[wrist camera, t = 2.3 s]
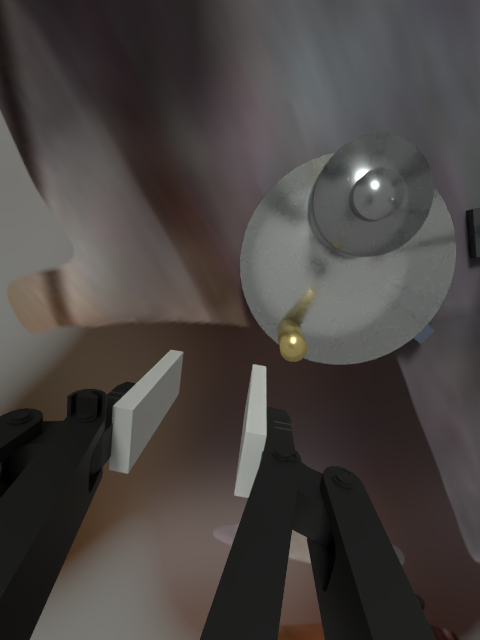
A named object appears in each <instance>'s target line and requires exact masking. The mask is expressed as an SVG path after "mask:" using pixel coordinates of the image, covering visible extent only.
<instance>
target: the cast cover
mask: <svg viewBox="0 0 480 640" xmlns="http://www.w3.org/2000/svg"><path fill="white" fill-rule="evenodd" d="M433 195H434V181H433V175H432V172H431V168H430V166H429V164H428V162H427V160H426V158H425V157H424V155H423V154H422V152H421V151H420V150H419V149H418V148H417V147H416V146H415V145H413V144H412V143H411V142H409V141H407V140H405V139H404V138H401V137H398V136H395V135H390V134H371V135H366V136H362V137H360V138H357V139H355V140H353V141H351V142H349V143H347V144H346V145H344V146H343V147H341V148H340V149H339V150H338V151H337V152H336V153H335V154H334V155H333V156H332V157H331V158H330V159H329V161H328V162H327V164H326V165H325V166H324V168H323V169H322V171H321V173H320V174H319V176H318V177H317V179H316V181H315V182H314V184H313V186H312V189H311V192H310V195H309V199H308V219H309V223H310V226H311V229H312V231H313V233H314V235H315V237H316V238H317V239H318V241H319V242H320V243H321V244H322V245H323V246H324V247H326V248H327V249H328V250H330V251H332V252H334V253H336V254H339V255H343V256H348V257H372V256H379V255H383V254H387V253H389V252H392V251H394V250H396V249H398V248H400V247H401V246H403V245H404V244H405V243H407V242H408V241H409V240H410V239H411V238H412V237H414V236H415V235H416V233H417V232H418V231H419V230H420V228H421V227H422V225H423V224H424V222H425V220H426V218H427V216H428V214H429V212H430V209H431V206H432V201H433Z"/></svg>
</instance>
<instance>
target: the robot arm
mask: <svg viewBox="0 0 480 640" xmlns="http://www.w3.org/2000/svg"><path fill="white" fill-rule="evenodd" d="M182 361H183V352H181V351H175V350H170V351H169V352H168V353H167V354H166V355H165V356H164V357H163V358H162V359H161V360H160V361H159V362H158V363H157V364H156V365H155V366H154V367H153V368H152V369H151V370H150V371H149V372H148V373H147V374H146V375H144V377H143V378H141V379H140V380H139V381H138V382H137V383H130V382H125V383H123V384H121V385H118V386H117V387H115V388H114V389H113V390H112V391H111V392H110V393H109V394H107V395H106V393H105V392H103V391H101V390H97V389H84V390H79V391H76V392H73V393H72V394H70V395H69V396H68V403H67V404H68V405H67V417H66V419H65V420H64V421H43V414H42V412H41V411H39V410H36V409H28V408H25V409H18V410H15V411H11V412H9V413H6V414H4V415H2V416H1V417H0V640H30V637H31V635H32V633H33V631H34V629H35V626H36V624H37V622H38V620H39V617H40V615H41V613H42V611H43V608H44V606H45V604H46V602H47V599H48V597H49V595H50V593H51V590H52V588H53V586H54V584H55V582H56V579H57V577H58V575H59V573H60V570H61V568H62V566H63V564H64V561H65V559H66V557H67V554H68V552H69V550H70V548H71V546H72V543H73V541H74V539H75V537H76V535H77V532H78V530H79V528H80V526H81V523H82V521H83V519H84V517H85V514H86V512H87V510H88V508H89V505H90V503H91V501H92V499H93V496H94V494H95V492H96V490H97V487H98V485H99V483H100V481H101V478H102V474H103V466H104V464H105V463H106V462H107V460H108V459H109V458H110V462H109V470H112V471H117V472H121V473H126V474H128V473H129V472H130V470H131V468H132V466H133V465H134V464H135V462H136V460H137V459H138V457H139V456H140V454H141V453H142V451H143V449H144V448H145V446H146V445H147V443H148V442H149V440H150V438H151V437H152V435H153V434H154V432H155V431H156V429H157V427H158V426H159V424H160V423H161V421H162V420H163V418H164V416H165V415H166V413H167V412H168V410H169V408H170V407H171V405H172V404H173V402H174V401H175V399H176V398H177V396H178V394H179V387H180V378H181V370H182ZM234 495H236V496H240V497H245V498H248V501H247V503H246V506H245V509H244V512H243V515H242V518H241V521H240V524H239V527H238V530H237V533H236V536H235V538H234V541H233V544H232V548H231V550H230V553H229V556H228V559H227V562H226V565H225V568H224V571H223V573H222V577H221V580H220V582H219V585H218V588H217V591H216V594H215V597H214V600H213V603H212V606H211V608H210V612H209V615H208V617H207V620H206V623H205V626H204V629H203V632H202V635H201V638H200V640H277V638H278V630H279V622H280V616H281V608H282V600H283V593H284V586H285V578H286V571H287V563H288V556H289V549H290V541H291V534H292V530H294V531H296V532H298V533H300V534H302V535H304V536H306V537H307V542H308V548H309V553H310V559H311V564H312V570H313V575H314V581H315V587H316V592H317V598H318V603H319V609H320V614H321V620H322V626H323V631H324V637H325V640H436V638H435V636H434V634H433V632H432V630H431V627H430V625H429V623H428V621H427V619H426V617H425V615H424V613H423V610H422V608H421V606H420V604H419V602H418V600H417V598H416V596H415V593H414V591H413V589H412V587H411V585H410V583H409V581H408V579H407V576H406V575H405V572H404V570H403V568H402V566H401V564H400V562H399V559H398V557H397V555H396V553H395V551H394V549H393V547H392V544H391V542H390V540H389V538H388V536H387V534H386V532H385V530H384V528H383V525H382V523H381V521H380V519H379V517H378V515H377V513H376V510H375V508H374V506H373V504H372V502H371V500H370V498H369V496H368V493H367V491H366V489H365V487H364V485H363V484H362V482H361V480H360V479H359V478H358V477H357V476H356V475H355V474H353V473H352V472H350V471H348V470H346V469H344V468H341V467H338V466H331V467H328V468H326V469H325V471H324V472H323V474H322V473H320V472H317V471H315V470H313V469H311V468H309V467H307V466H306V465H305V464H303V463H302V462H301V457H300V455H299V454H298V452H297V451H295V447H294V441H293V435H292V429H291V422H290V417H289V415H288V414H287V413H286V411H284V410H281V409H275V408H270V407H266V367H265V366H260V365H253V368H252V373H251V379H250V385H249V391H248V396H247V402H246V408H245V415H244V423H243V431H242V438H241V447H240V454H239V461H238V469H237V477H236V484H235V492H234Z"/></svg>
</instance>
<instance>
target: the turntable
mask: <svg viewBox="0 0 480 640" xmlns="http://www.w3.org/2000/svg"><path fill="white" fill-rule="evenodd" d="M334 154H335V153H332V154H328V155H324V156H321V157H318V158H316V159H313V160H310V161H308V162H306V163H305V164H303V165H301V166H299V167H297V168H295V169H294V170H293V171H291V172H290V173H288V174H287V175H285V176H284V177H283V178H282V179H281V180H280V181H278V182H277V183H276V184H275V185H274V186H273V187H272V188H271V189H270V191H269V192H268V193H267V194H266V195H265V196H264V198H263V199H262V201H261V202H260V204H259V205H258V207H257V208H256V210H255V211H254V213H253V215H252V217H251V219H250V221H249V224H248V227H247V229H246V232H245V235H244V239H243V244H242V248H241V258H240V275H241V282H242V288H243V292H244V295H245V299H246V302H247V304H248V306H249V308H250V311H251V313H252V315H253V316H254V318H255V319H256V321H257V323H258V324H259V325H260V327H261V328H262V329H263V330H264V331H265V332H266V334H267V335H268V336H269V337H271V338H272V339H273V340H274V341H275V342H276V343H277V344H279V347H280V352H281V355H282V356H283V358H284V359H286V360H288V361H291V362H297V361H300V360H301V359H303V358H305V359H307V360H310V361H314V362H319V363H324V364H333V365H347V364H355V363H362V362H366V361H370V360H374V359H376V358H379V357H382V356H384V355H387V354H389V353H391V352H393V351H394V350H396V349H398V348H400V347H401V346H403V345H404V344H406V343H407V342H409V341H410V340H411V339H412V340H414V341H416V342H418V343H420V344H421V343H422V342H424V341H425V340H426V339H427V338H428V337H429V336H430V335H431V334H432V333H433V332H434V331H435V330H434V329H433V328H431V327H430V326H429V325H428V323H429V322H430V321H431V319H432V318H433V317H434V315H435V314H436V312H437V311H438V310H439V308H440V306H441V304H442V302H443V301H444V299H445V297H446V294H447V292H448V289H449V287H450V284H451V281H452V277H453V273H454V269H455V260H456V238H455V232H454V226H453V222H452V219H451V216H450V213H449V211H448V209H447V206H446V204H445V202H444V200H443V198H442V197H441V196H440V194H439V193H438V191H437V190H436V188H435V187H434V195H433V201H432V206H431V209H430V212H429V214H428V216H427V218H426V220H425V222H424V224H423V225H422V227H421V228H420V230H419V231H418V232H417V233H416V235H415V236H414V237H412V238H411V239H410V240H409V241H408V242H407V243H405V244H404V245H403V246H401V247H400V248H398V249H396V250H394V251H392V252H389V253H387V254H383V255H379V256H372V257H348V256H343V255H339V254H336V253H334V252H332V251H330V250H328V249H327V248H326V247H324V246H323V245H322V244H321V243H320V242H319V241H318V239H317V238H316V237H315V235H314V233H313V231H312V229H311V226H310V223H309V219H308V199H309V195H310V192H311V189H312V186H313V184H314V182H315V181H316V179H317V177H318V176H319V174H320V173H321V171H322V169H323V168H324V166H325V165H326V164H327V162H328V161H329V159H330V158H331V157H332V156H333V155H334Z"/></svg>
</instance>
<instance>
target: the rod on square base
mask: <svg viewBox="0 0 480 640" xmlns="http://www.w3.org/2000/svg"><path fill="white" fill-rule="evenodd" d="M466 212H467V225H468V238H469V251H470V258H477V257H480V208H476V209H472V210H468V211H466Z"/></svg>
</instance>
